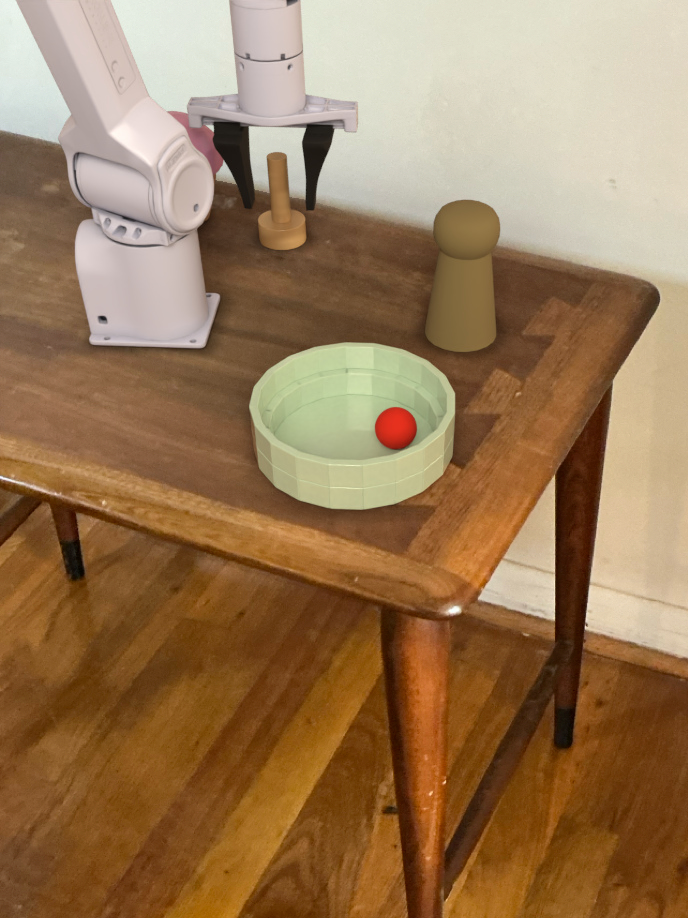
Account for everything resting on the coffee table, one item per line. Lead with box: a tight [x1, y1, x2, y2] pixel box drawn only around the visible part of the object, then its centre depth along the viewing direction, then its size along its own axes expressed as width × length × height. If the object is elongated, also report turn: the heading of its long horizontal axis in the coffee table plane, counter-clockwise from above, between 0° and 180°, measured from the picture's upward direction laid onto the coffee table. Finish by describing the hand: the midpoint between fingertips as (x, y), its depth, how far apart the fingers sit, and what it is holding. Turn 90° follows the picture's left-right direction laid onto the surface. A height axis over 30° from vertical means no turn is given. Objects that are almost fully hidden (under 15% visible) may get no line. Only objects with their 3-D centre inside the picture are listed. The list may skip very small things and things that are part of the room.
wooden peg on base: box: [257, 151, 307, 251], centre depth 94 cm, size 4×4×8 cm
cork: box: [424, 199, 501, 353], centre depth 82 cm, size 6×6×11 cm
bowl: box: [248, 341, 456, 511], centre depth 73 cm, size 14×14×4 cm
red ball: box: [375, 407, 417, 449], centre depth 73 cm, size 3×3×3 cm
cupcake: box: [166, 110, 224, 223], centre depth 96 cm, size 9×9×10 cm
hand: (280, 204), depth 95 cm, fingers open, 5 cm apart
